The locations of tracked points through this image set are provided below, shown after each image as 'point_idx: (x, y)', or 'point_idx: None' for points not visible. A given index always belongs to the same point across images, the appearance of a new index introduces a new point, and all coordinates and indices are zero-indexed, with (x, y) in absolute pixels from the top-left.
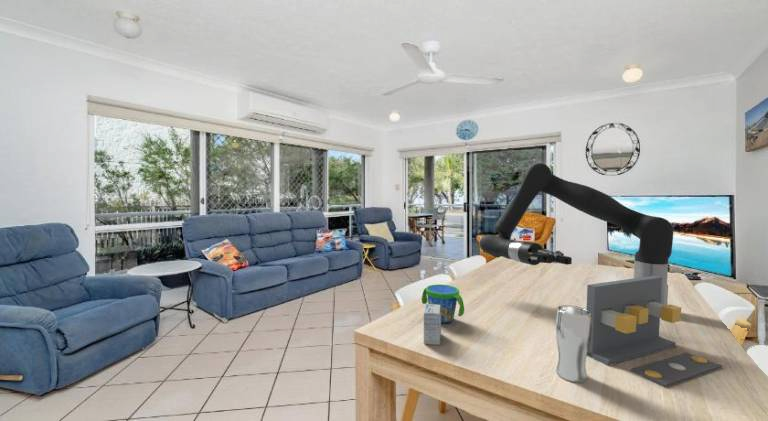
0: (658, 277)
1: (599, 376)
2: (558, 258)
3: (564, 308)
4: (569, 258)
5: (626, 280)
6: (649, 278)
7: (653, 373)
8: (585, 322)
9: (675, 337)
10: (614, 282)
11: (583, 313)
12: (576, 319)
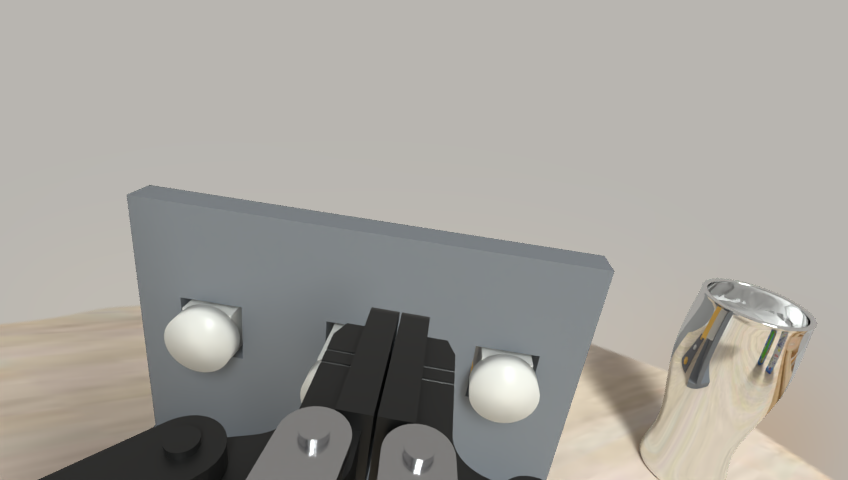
0: (166, 189)
1: (600, 428)
2: (451, 419)
3: (767, 334)
4: (408, 316)
5: (361, 226)
6: (225, 199)
7: (472, 364)
8: (731, 298)
9: (85, 397)
10: (453, 238)
11: (703, 309)
12: (763, 301)
